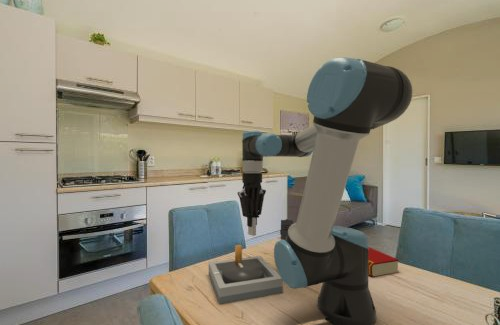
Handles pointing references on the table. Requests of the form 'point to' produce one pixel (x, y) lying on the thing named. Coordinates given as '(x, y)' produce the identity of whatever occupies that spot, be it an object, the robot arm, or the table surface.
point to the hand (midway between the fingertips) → (252, 234)
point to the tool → (285, 228)
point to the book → (381, 264)
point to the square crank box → (244, 282)
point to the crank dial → (241, 269)
